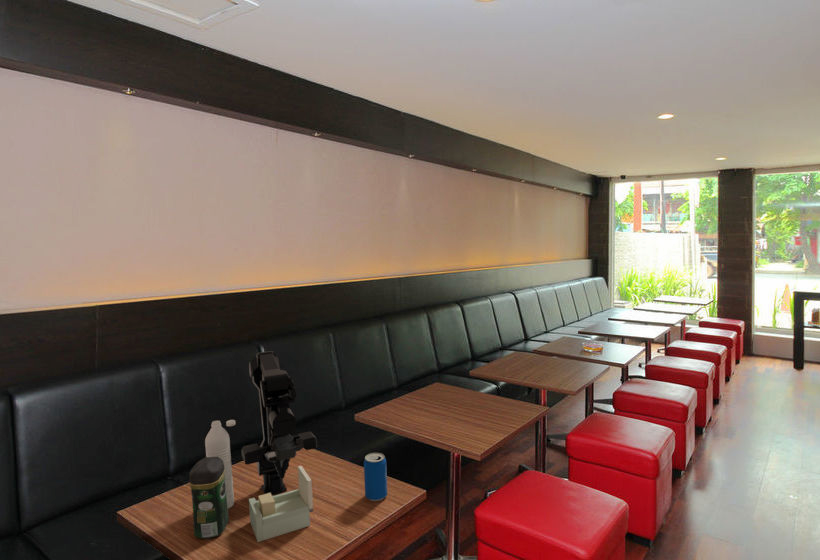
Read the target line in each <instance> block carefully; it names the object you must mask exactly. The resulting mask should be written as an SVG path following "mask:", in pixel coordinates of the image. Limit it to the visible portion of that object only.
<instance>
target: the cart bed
mask: <svg viewBox="0 0 820 560" xmlns="http://www.w3.org/2000/svg"><path fill="white" fill-rule="evenodd" d="M272 497H273V499H274V501H275V512H276V514H273V515H269V516H266V517H263V518H262V514H261V512H260V509H259V499H258V500H256V498H255V497H252V498H248V505H249V506H248V508H249V522H250V526H251V527H252V530H253V533H254V536H255V538H256V541H257V543H260V542H263V541H265V540H269V539H272V538H276V537H278V536H279V537H280V536H282V535H285V534H288V533H291V532H294V531H297V530H301V529H304V528H306V527H310V526H311V519H310V511H309V506H308V504H307V505H305V503H304V501H303V500H302V498H301V496H300V495H299V488H296V489H293V490H291V491H285V492H281V493H278V494H276V495H275V494H274V495H272Z"/></svg>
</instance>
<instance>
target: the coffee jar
mask: <svg viewBox="0 0 820 560" xmlns="http://www.w3.org/2000/svg"><path fill="white" fill-rule="evenodd" d="M188 476H189V486H190V491H191V501H192V518H193V522H192V523H193V534H194V536H195V538H198V539H201V540H202V539H203V540H205V539H212V538H215V537H219V536H220V535H222V534H223V532H224V531H225V529H226V528H227V525H228V523H229V520H230V517H229V509H228V507H227V498H226V488H225V468H224V462H223V460H222V459H221V458H219V457H206V456H205V457H203V458H202V459H200V460H198V461H197V462H196V463H195V464H194V465H193V467H191V470H190V471H189V474H188Z"/></svg>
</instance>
